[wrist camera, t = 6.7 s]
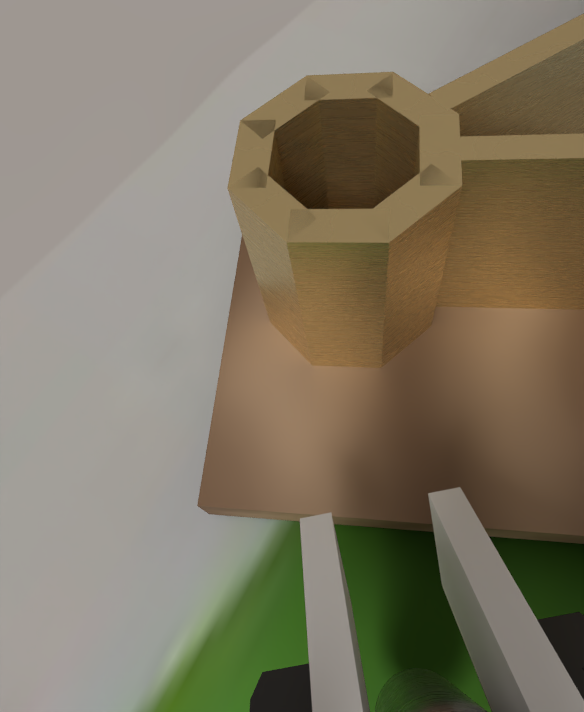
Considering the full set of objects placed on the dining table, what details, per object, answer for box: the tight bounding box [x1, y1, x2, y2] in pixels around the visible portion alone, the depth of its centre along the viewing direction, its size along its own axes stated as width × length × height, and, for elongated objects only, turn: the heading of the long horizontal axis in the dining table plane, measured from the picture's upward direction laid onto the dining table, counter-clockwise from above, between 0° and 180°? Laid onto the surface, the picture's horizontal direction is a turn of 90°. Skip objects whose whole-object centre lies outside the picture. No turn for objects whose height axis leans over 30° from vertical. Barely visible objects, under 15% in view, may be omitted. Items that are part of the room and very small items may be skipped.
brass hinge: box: [228, 14, 584, 368], centre depth 17 cm, size 13×9×7 cm
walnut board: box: [197, 235, 584, 544], centre depth 21 cm, size 15×16×2 cm
